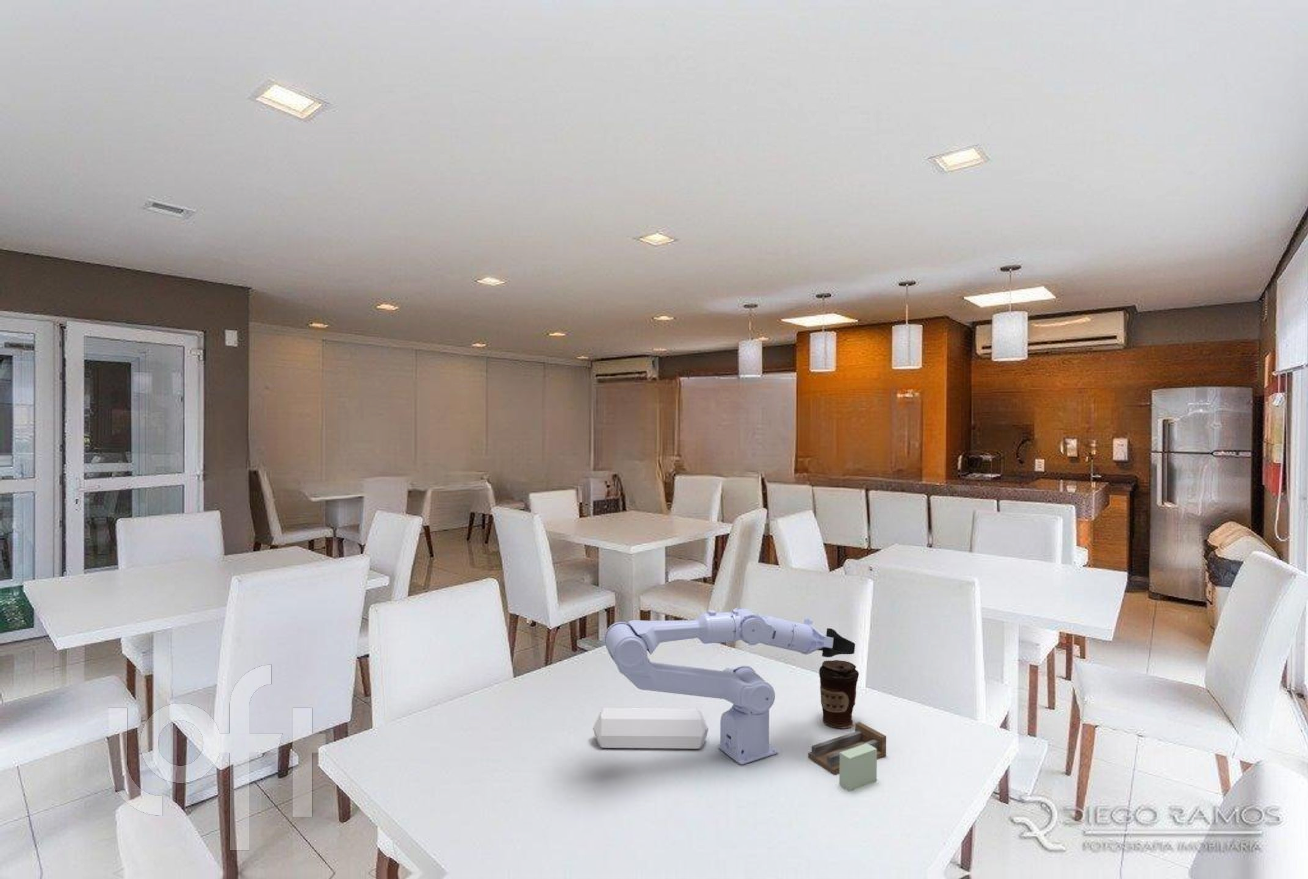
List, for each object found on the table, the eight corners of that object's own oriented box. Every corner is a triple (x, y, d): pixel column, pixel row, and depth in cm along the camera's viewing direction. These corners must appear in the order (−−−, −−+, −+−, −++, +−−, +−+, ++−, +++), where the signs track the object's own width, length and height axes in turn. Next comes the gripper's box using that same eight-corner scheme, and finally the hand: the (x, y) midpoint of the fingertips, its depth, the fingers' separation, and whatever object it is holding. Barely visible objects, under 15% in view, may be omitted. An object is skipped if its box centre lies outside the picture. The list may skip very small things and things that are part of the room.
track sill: (834, 774, 121) (834, 753, 121) (808, 757, 128) (808, 737, 127) (886, 755, 128) (886, 736, 128) (859, 740, 134) (859, 721, 134)
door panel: (849, 791, 116) (849, 758, 116) (839, 784, 118) (839, 752, 118) (876, 780, 120) (876, 748, 119) (866, 774, 122) (866, 743, 122)
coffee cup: (849, 736, 136) (849, 675, 136) (811, 724, 141) (812, 666, 141) (863, 720, 143) (864, 662, 143) (827, 710, 148) (827, 654, 148)
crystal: (589, 736, 129) (710, 737, 128) (593, 704, 135) (708, 705, 134) (591, 758, 133) (708, 759, 132) (595, 726, 139) (707, 727, 138)
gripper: (808, 616, 126) (866, 629, 130) (771, 613, 140) (825, 625, 143) (803, 653, 124) (862, 665, 128) (766, 646, 138) (821, 658, 141)
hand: (842, 646), depth 136 cm, fingers open, 7 cm apart
